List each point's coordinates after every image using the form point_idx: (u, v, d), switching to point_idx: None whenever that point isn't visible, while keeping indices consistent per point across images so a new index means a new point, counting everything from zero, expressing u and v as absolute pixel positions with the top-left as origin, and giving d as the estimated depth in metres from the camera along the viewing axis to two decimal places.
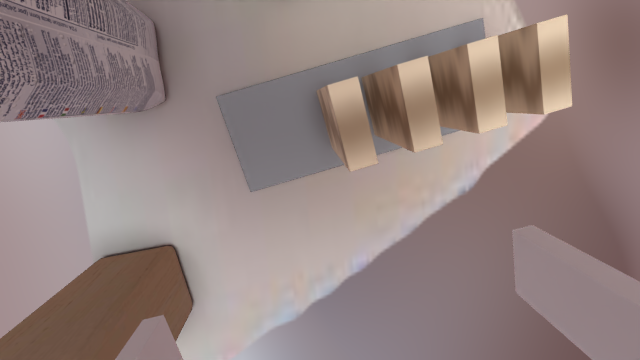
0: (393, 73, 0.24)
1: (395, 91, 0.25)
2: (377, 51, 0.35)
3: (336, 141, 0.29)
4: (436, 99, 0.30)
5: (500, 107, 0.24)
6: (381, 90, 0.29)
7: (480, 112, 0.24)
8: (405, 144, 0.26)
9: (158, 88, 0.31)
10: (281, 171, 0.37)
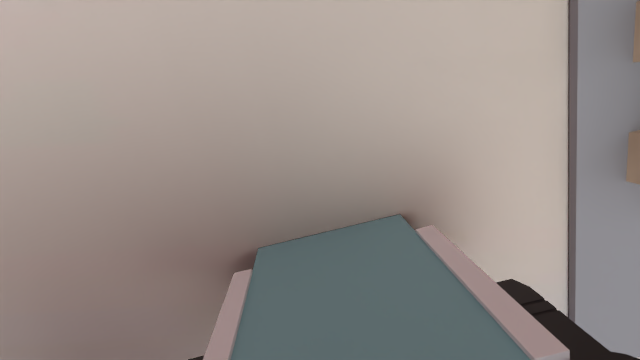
0: None
1: None
2: (584, 11, 0.12)
3: None
4: None
5: None
6: None
7: None
8: None
9: None
10: None
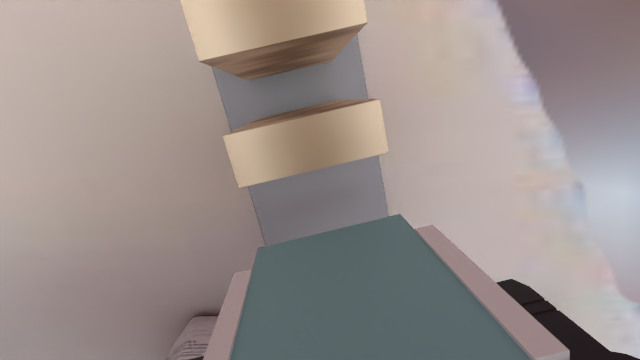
0: (220, 62, 0.13)
1: (253, 55, 0.14)
2: None
3: None
4: None
5: None
6: (259, 66, 0.18)
7: None
8: (349, 34, 0.14)
9: None
10: (369, 196, 0.28)
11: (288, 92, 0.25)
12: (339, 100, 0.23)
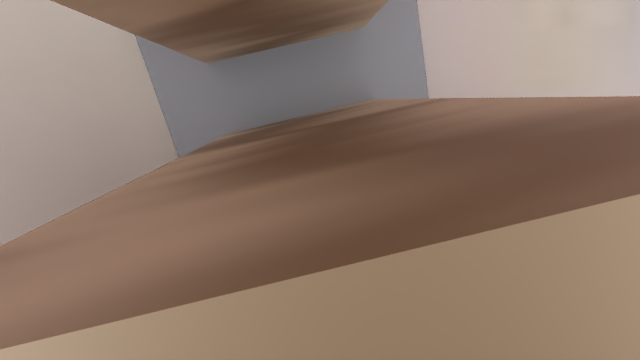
0: None
1: None
2: None
3: None
4: None
5: None
6: (190, 0, 0.06)
7: None
8: None
9: None
10: None
11: (283, 85, 0.14)
12: (384, 100, 0.12)
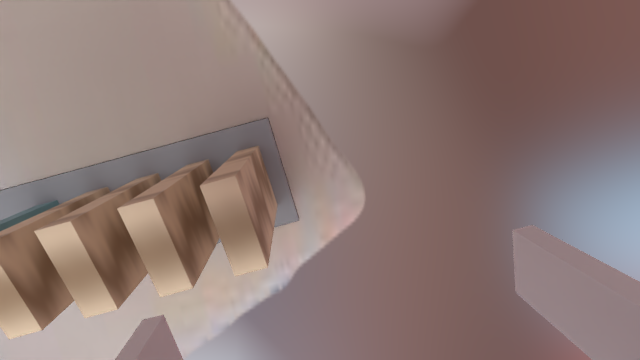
0: None
1: None
2: (150, 152, 0.31)
3: None
4: None
5: (178, 271, 0.21)
6: None
7: (155, 276, 0.21)
8: None
9: None
10: None
11: None
12: None
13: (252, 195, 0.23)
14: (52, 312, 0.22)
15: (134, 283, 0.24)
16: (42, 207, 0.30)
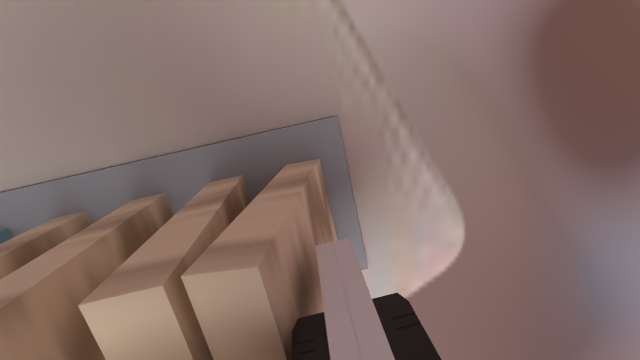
0: None
1: None
2: (154, 161, 0.20)
3: None
4: None
5: None
6: None
7: None
8: None
9: None
10: None
11: None
12: None
13: (297, 278, 0.12)
14: None
15: None
16: None
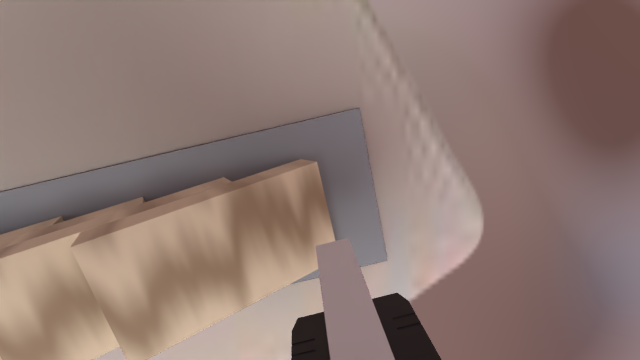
0: None
1: None
2: (178, 154, 0.20)
3: None
4: None
5: None
6: None
7: None
8: None
9: None
10: None
11: None
12: None
13: (156, 265, 0.15)
14: None
15: None
16: None
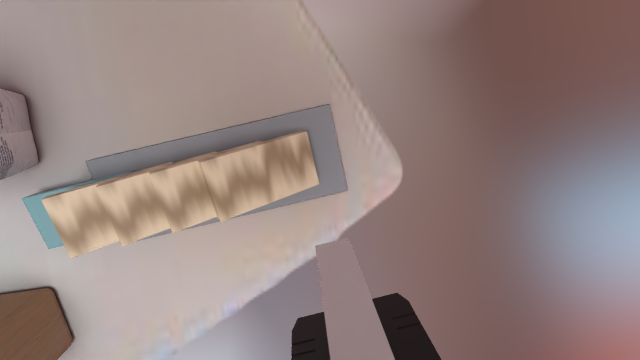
0: None
1: None
2: (234, 128, 0.39)
3: None
4: None
5: (167, 219, 0.33)
6: None
7: None
8: None
9: (20, 158, 0.35)
10: None
11: None
12: None
13: (232, 174, 0.34)
14: (82, 249, 0.34)
15: (146, 234, 0.34)
16: None
